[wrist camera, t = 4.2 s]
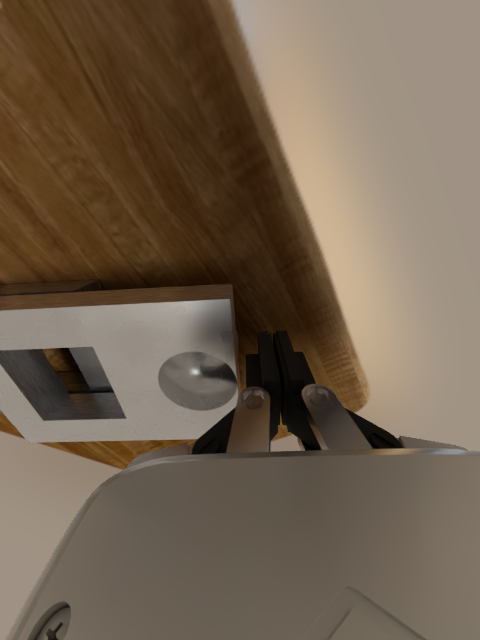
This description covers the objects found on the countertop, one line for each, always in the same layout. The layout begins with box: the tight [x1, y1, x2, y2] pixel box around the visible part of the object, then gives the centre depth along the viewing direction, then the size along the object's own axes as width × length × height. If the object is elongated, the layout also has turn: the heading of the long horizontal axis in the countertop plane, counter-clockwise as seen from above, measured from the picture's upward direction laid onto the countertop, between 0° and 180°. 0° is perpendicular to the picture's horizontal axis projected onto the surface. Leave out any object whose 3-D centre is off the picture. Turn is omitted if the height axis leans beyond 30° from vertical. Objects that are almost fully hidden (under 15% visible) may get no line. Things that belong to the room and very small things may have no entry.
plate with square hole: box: [0, 284, 241, 442], centre depth 12 cm, size 14×9×4 cm, turn 94°
